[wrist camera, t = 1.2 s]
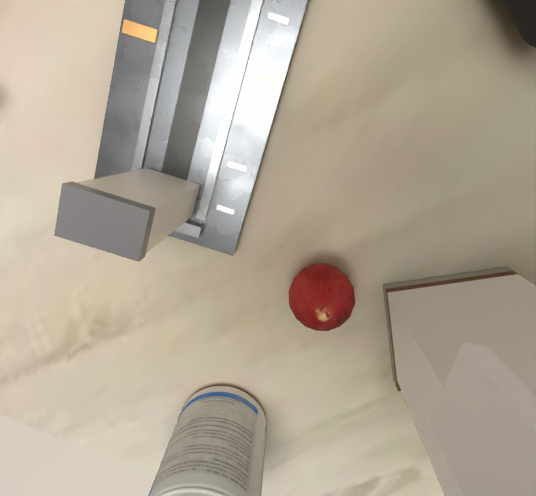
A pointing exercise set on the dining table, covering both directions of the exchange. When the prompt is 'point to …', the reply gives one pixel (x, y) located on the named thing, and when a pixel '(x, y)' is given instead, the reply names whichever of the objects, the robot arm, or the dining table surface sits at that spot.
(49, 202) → the dining table surface
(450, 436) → the robot arm
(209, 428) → the supplement tub
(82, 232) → the fader tab
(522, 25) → the radio receiver
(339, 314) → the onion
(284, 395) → the dining table surface
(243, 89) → the console
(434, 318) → the white shelf
